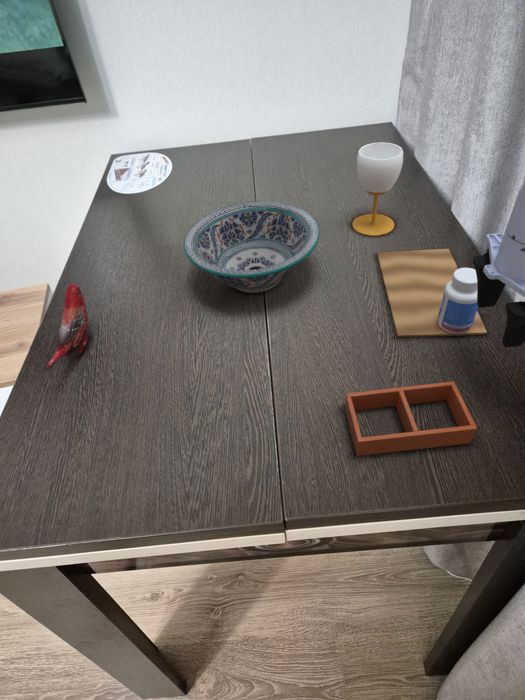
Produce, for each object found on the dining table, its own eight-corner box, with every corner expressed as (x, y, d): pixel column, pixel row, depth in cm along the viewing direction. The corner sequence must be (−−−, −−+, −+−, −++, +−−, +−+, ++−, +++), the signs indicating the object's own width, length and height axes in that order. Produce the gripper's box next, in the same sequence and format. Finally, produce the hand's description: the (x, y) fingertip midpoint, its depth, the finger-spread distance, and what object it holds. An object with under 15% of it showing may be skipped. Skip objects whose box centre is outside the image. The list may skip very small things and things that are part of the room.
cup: (355, 213, 100) (359, 141, 89) (395, 215, 98) (406, 141, 86) (349, 234, 94) (353, 160, 83) (392, 237, 92) (403, 161, 81)
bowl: (344, 287, 82) (347, 243, 75) (222, 336, 76) (213, 293, 69) (282, 229, 98) (279, 188, 91) (177, 265, 92) (166, 225, 85)
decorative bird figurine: (103, 320, 82) (82, 276, 75) (71, 394, 70) (43, 351, 62) (88, 320, 82) (66, 277, 75) (54, 395, 70) (24, 352, 63)
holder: (448, 396, 63) (453, 381, 60) (470, 443, 57) (477, 428, 55) (344, 408, 63) (345, 393, 61) (356, 456, 58) (358, 441, 55)
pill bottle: (478, 330, 71) (496, 282, 64) (447, 338, 70) (462, 290, 63) (459, 309, 74) (474, 261, 67) (430, 316, 74) (442, 269, 67)
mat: (486, 334, 71) (487, 332, 70) (397, 337, 72) (397, 335, 71) (448, 250, 87) (449, 248, 87) (376, 254, 88) (377, 252, 88)
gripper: (471, 205, 53) (447, 293, 63) (531, 276, 43) (491, 368, 52) (529, 198, 53) (496, 287, 63) (603, 268, 43) (550, 361, 52)
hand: (497, 324), depth 57 cm, fingers open, 7 cm apart
